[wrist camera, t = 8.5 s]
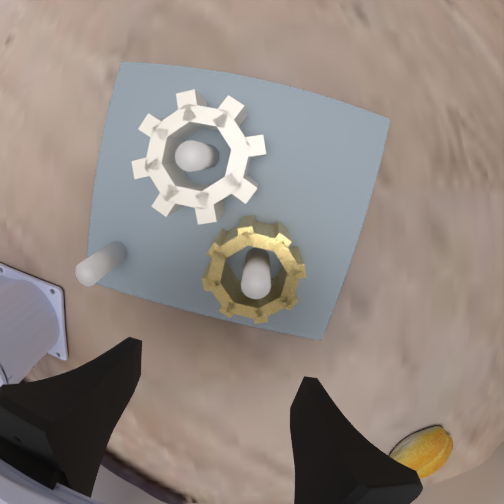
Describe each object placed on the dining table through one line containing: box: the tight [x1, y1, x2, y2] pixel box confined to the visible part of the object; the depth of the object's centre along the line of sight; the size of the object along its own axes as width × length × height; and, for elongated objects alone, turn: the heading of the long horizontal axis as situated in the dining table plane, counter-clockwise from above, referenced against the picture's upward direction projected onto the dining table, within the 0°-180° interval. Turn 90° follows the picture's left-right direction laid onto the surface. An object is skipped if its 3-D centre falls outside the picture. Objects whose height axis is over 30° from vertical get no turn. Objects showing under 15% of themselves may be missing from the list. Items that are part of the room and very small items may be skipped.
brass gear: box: [202, 215, 306, 324], centre depth 18 cm, size 6×6×3 cm
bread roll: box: [389, 426, 453, 478], centre depth 26 cm, size 8×9×4 cm
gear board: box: [75, 62, 390, 341], centre depth 17 cm, size 18×16×6 cm
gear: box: [131, 89, 266, 225], centre depth 17 cm, size 7×7×3 cm
